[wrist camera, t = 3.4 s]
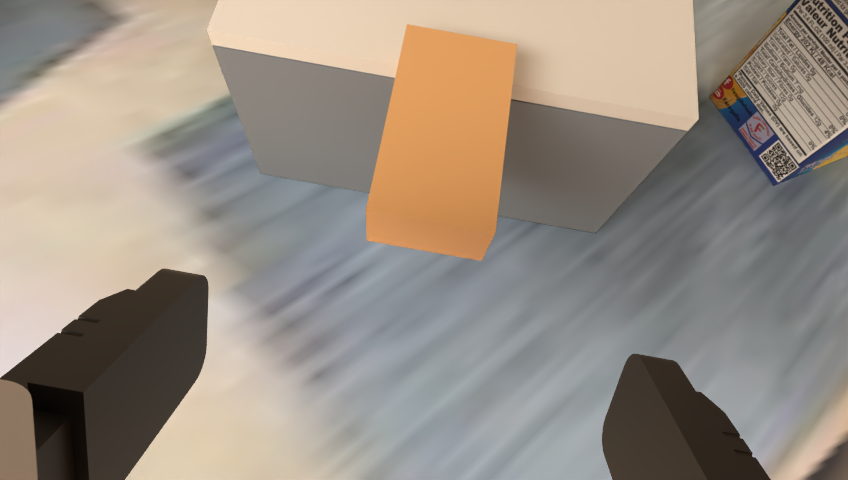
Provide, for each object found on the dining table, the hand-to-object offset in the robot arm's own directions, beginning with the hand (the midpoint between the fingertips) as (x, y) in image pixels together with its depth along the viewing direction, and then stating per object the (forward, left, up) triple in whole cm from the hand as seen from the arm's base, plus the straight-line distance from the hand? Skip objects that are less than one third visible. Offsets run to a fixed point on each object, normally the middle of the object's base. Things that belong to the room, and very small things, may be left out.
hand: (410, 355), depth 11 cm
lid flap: (0, +17, -7) cm, 18 cm away
